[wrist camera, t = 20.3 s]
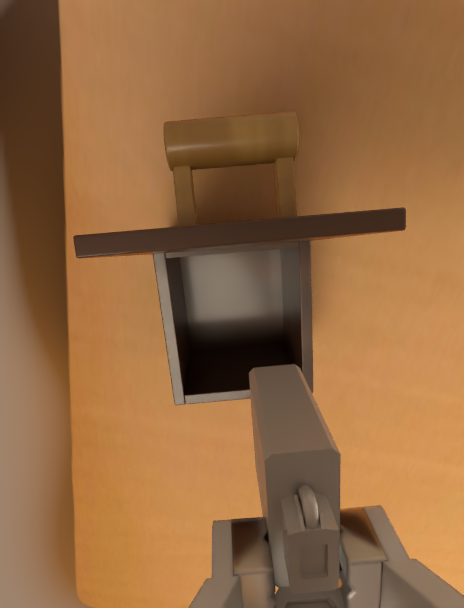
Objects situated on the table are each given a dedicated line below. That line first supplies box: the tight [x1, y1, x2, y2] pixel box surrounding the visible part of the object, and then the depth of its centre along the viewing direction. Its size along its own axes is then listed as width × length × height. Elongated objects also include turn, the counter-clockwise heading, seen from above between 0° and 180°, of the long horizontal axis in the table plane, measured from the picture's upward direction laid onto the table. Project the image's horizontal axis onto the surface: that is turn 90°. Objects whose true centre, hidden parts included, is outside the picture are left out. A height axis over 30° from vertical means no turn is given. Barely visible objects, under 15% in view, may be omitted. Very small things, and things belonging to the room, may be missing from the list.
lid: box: [73, 111, 406, 258], centre depth 20 cm, size 14×12×5 cm
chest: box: [153, 241, 313, 405], centre depth 34 cm, size 13×12×10 cm
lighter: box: [249, 364, 345, 608], centre depth 10 cm, size 7×2×8 cm, turn 4°
